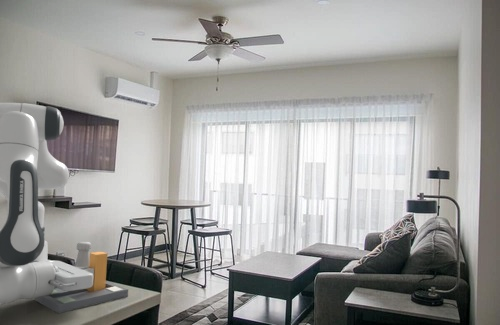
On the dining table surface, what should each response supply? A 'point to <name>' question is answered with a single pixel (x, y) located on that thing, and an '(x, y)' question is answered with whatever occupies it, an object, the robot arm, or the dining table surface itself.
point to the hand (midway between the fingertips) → (91, 270)
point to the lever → (98, 270)
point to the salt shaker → (83, 254)
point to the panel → (81, 297)
